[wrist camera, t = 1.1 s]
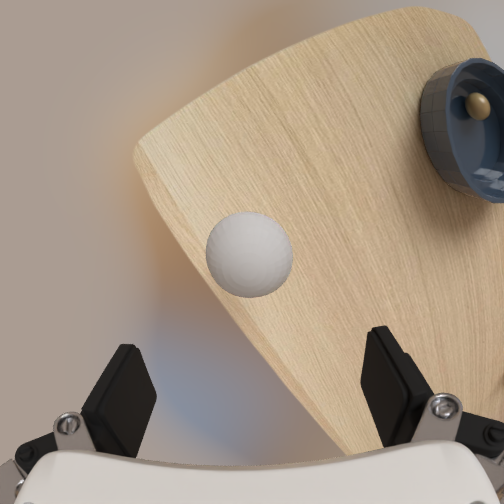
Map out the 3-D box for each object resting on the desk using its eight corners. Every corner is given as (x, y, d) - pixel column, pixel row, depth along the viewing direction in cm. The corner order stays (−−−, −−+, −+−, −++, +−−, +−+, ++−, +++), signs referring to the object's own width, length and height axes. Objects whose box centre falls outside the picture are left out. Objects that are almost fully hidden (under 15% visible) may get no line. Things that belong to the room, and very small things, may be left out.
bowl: (408, 56, 25) (433, 43, 19) (499, 80, 24) (526, 77, 19) (421, 194, 31) (448, 203, 25) (507, 194, 30) (534, 203, 24)
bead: (458, 91, 25) (474, 88, 22) (476, 96, 25) (493, 94, 22) (461, 119, 27) (478, 117, 23) (479, 122, 26) (496, 122, 23)
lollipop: (290, 224, 32) (316, 283, 18) (246, 254, 33) (240, 330, 19) (257, 178, 31) (258, 200, 16) (212, 210, 32) (178, 258, 18)
